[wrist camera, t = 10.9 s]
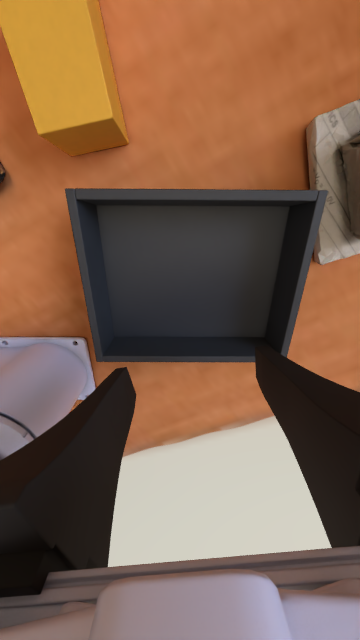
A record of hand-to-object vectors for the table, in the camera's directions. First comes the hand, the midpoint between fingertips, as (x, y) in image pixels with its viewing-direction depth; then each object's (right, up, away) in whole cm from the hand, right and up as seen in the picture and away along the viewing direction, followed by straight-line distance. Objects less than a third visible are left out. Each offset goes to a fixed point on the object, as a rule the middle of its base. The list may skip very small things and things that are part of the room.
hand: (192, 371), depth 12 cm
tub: (0, +7, +7) cm, 10 cm away
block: (-7, +19, +2) cm, 20 cm away
